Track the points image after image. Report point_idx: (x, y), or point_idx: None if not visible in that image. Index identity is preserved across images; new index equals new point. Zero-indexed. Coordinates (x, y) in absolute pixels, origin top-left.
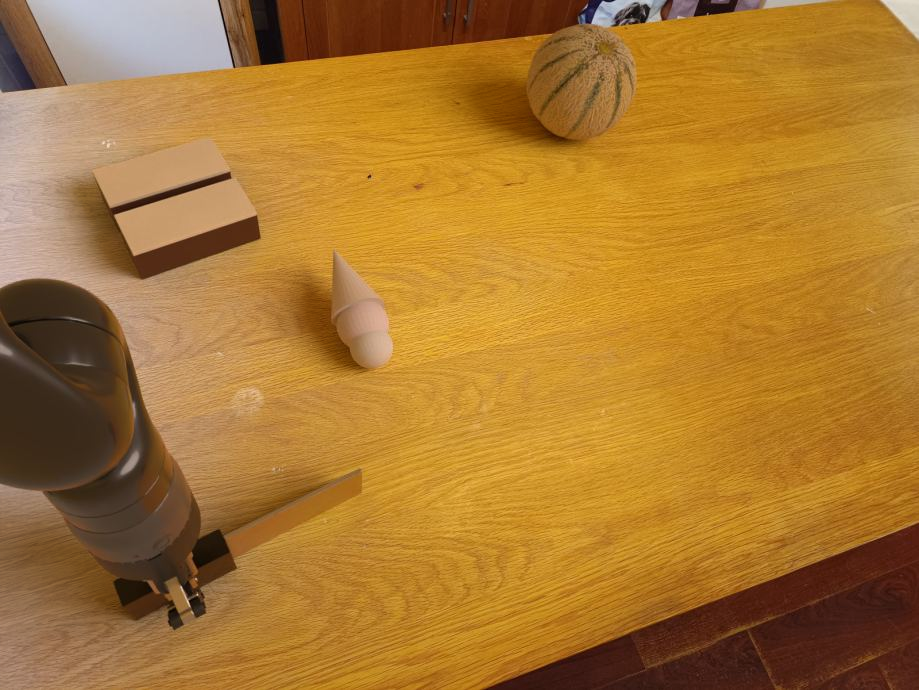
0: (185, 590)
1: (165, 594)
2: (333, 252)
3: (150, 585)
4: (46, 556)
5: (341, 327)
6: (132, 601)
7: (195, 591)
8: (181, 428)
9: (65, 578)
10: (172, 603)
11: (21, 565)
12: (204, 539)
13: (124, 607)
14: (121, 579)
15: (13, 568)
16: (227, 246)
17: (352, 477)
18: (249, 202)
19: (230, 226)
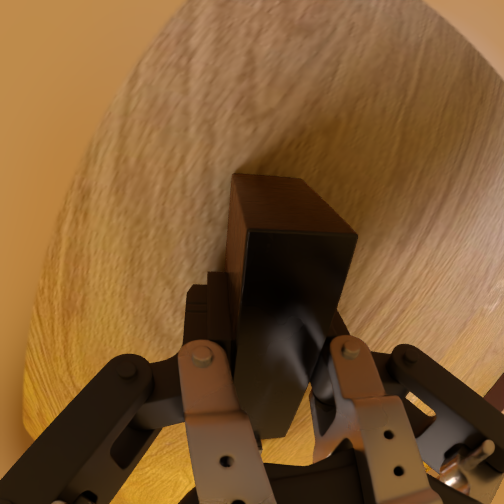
0: (173, 416)
1: (183, 397)
2: (425, 468)
3: (198, 496)
4: (460, 98)
5: None
6: (244, 265)
7: (157, 430)
8: (448, 342)
9: (413, 96)
10: (145, 395)
11: (466, 60)
12: (284, 422)
13: (243, 228)
14: (342, 261)
15: (468, 49)
16: (493, 391)
17: None
18: None
19: (499, 410)
